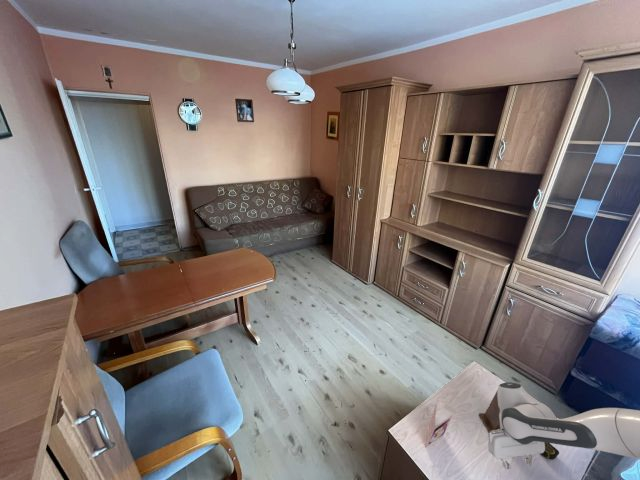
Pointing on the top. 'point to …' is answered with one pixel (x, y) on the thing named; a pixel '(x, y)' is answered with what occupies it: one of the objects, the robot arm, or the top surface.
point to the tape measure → (550, 451)
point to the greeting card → (436, 429)
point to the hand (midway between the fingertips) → (517, 466)
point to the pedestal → (491, 415)
